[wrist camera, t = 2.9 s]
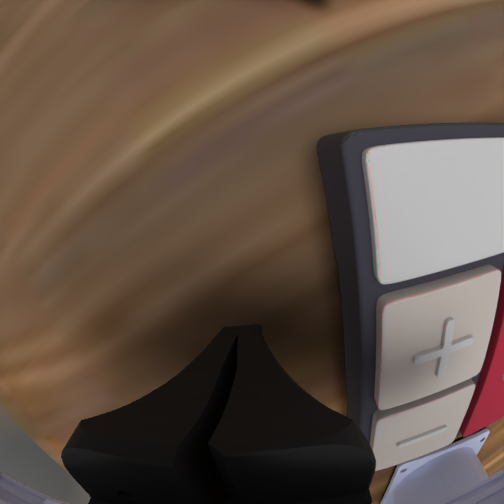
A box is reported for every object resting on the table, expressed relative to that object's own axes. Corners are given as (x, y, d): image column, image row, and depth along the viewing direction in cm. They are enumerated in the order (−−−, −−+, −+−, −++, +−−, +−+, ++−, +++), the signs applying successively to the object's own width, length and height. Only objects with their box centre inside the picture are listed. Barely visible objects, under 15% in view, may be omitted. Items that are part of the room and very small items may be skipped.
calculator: (359, 483, 11) (347, 129, 6) (344, 423, 15) (313, 137, 10) (526, 409, 10) (580, 129, 5) (495, 369, 14) (518, 124, 9)
